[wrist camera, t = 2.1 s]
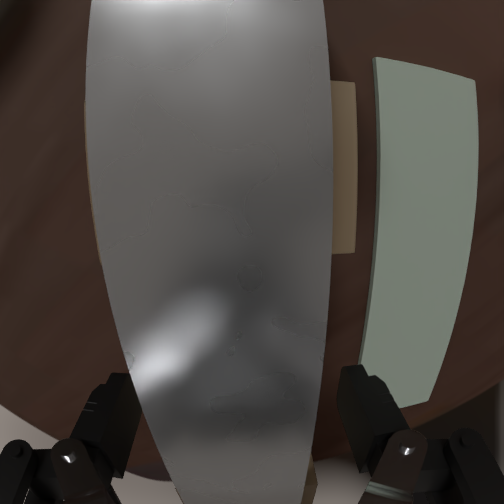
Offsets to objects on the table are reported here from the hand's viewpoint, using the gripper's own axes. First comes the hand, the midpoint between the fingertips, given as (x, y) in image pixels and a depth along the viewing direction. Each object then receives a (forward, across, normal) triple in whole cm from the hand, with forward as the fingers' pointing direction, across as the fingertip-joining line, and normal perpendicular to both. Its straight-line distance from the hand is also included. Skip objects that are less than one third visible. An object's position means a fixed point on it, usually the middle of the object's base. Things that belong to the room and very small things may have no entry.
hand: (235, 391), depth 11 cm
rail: (+1, 0, 0) cm, 1 cm away
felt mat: (+11, -14, 0) cm, 18 cm away
